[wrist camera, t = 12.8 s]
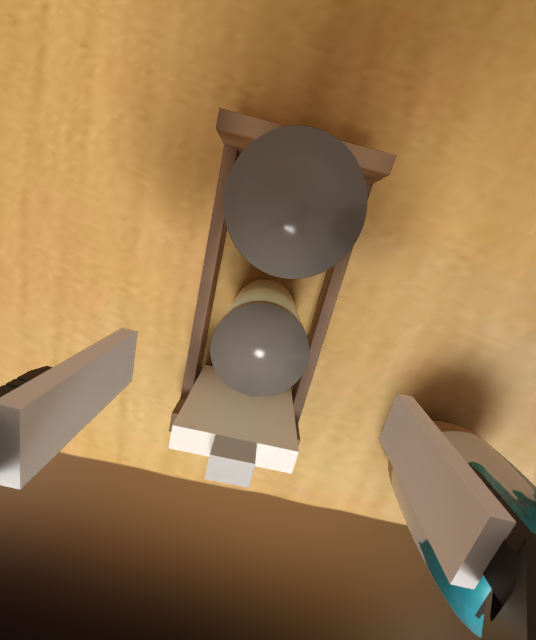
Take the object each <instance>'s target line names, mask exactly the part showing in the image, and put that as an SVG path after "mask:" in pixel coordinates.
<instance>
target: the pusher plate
mask: <svg viewBox="0 0 536 640" xmlns="http://www.w3.org/2000/svg"><path fill="white" fill-rule="evenodd" d="M169 448H171V449H175V450H180V451H185V452H190V453H195V454H199V455H204V456H209V461H208V465H207V470H206V474H205V479H207V480H212V481H217V482H222V483H227V484H232V485H237V486H242V487H246V488H249V485H250V481H251V478H252V474H253V470H254V467H255V466H257V467H262V468H267V469H271V470H276V471H281V472H286V473H290V474H292V471H293V468H294V465H295V462H296V459H297V456H298V453H299V449H298V441H297V432H296V424H295V416H294V407H293V399H292V390H291V387H290V388H289V389H287V390H285V391H283V392H281V393H279V394H276V395H272V396H266V397H255V396H249V395H245V394H242V393H240V392H237V391H235V390H234V389H232V388H230V387H229V386H228V385H226V384H225V383H224V382H223V381H222V380H221V378H220V377H219V376H218V374H217V373H216V371H215V369H214V367H213V366H209V365H204V367H203V369H202V371H201V373H200V374H199V376H198V378H197V380H196V382H195V384H194V386H193V388H192V390H191V391H190V393H189V395H188V397H187V399H186V401H185V403H184V405H183V406H182V408H181V410H180V412H179V414H178V416H177V418H176V420H175V421H174V423H173V426H172V431H171V437H170V443H169Z"/></svg>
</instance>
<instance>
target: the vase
mask: <svg viewBox="0 0 536 640" xmlns="http://www.w3.org/2000/svg"><path fill="white" fill-rule="evenodd" d="M433 422H434V423H435V425H436V426H437V427H438V428H439V429H440V431H441V432H442V433H443V434H444V435H445V437H446V438H447V439H448V440H449V441H450V443H451V444H452V445H453V446H454V448H455V449H456V450H457V451H458V452H459V454H460V455H461V456H462V457H463V458H464V460H465V461H466V462H467V463H469V464H471V465H472V466H473V467H474V468H475V469H477V470H478V471H479V472H480V473H481V474H483V476H484V477H485V478H486V479H487V480H488V481H489V483H490V484H491V485H492V486H493V488H494V489H495V490H496V491H497V492H498V493H499V494H500V495H501V498H502V499H504V500H505V501H506V503H507V504H508V505H509V506H510V507H511V508H512V510H513V511H514V512H515V513H516V514H517V515H518V517H519V518H520V519H521V520H522V521H523V522H524V524H525V525H526V526H527V527H528V528H529V530H530V531H531V532H532V533H535V534H536V487H535V486H534V485H533V484H532V483H531V482H530V481H529V480H528V479H527V478H526V477H525V476H524V475H523V474H522V473H521V472H520V471H519V470H518V469H517V468H516V467H515V466H513V465H512V464H511V463H510V462H509V461H508V460H507V459H506V458H504V457H503V456H502V455H501V454H500V453H499V452H497V451H496V450H495V449H494V448H493V447H491V446H490V445H489V444H488V443H486V442H485V441H484V440H483V439H481V438H480V437H479V436H477V435H476V434H474V433H473V432H471V431H469V430H468V429H466V428H464V427H461V426H459V425H456V424H453V423H449V422H444V421H433ZM388 470H389V476H390V481H391V484H392V488H393V490H394V493H395V496H396V499H397V501H398V504H399V506H400V509H401V511H402V514H403V516H404V518H405V521H406V523H407V525H408V527H409V530H410V532H411V534H412V536H413V538H414V541H415V543H416V545H417V547H418V549H419V551H420V553H421V555H422V557H423V559H424V561H425V563H426V565H427V567H428V569H429V571H430V572H431V574H432V576H433V578H434V580H435V582H436V583H437V585H438V587H439V588H440V590H441V592H442V594H443V595H444V597H445V598H446V600H447V601H448V603H449V605H450V606H451V608H452V609H453V611H454V612H455V613H456V615H457V616H458V617H459V619H460V620H461V621H462V622H463V623H464V624H465V625H466V626H467V627H468V628H469V629H470V630H471V631H472V632H473V633H474V634H476V635H477V636H479V637H480V638H481V636H482V628H483V620H484V615H482V616H481V617H480V619H479V618H477V617H476V616H475V614H476V613H477V611H478V609H479V608H480V606H481V605H482V603H483V602H484V600H485V599H486V597H487V596H488V594H489V592H490V591H491V587H490V585H489V584H488V582H487V580H486V579H485V577H484V575H483V576H482V578H481V580H480V581H479V583H478V584H477V586H476V587H475V589H469V588H465V587H460V586H455V585H451V584H450V583H449V581H448V579H447V577H446V575H445V573H444V571H443V569H442V567H441V565H440V563H439V561H438V559H437V557H436V555H435V552H434V550H433V548H432V546H431V544H430V542H429V540H428V538H427V536H426V534H425V532H424V530H423V528H422V526H421V524H420V522H419V520H418V518H417V516H416V514H415V512H414V510H413V508H412V505H411V503H410V501H409V499H408V497H407V495H406V493H405V491H404V489H403V487H402V485H401V483H400V481H399V479H398V477H397V475H396V473H395V471H394V469H393V467H392V465H391V463H390V460H388Z"/></svg>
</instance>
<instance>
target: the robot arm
mask: <svg viewBox="0 0 536 640" xmlns="http://www.w3.org/2000/svg"><path fill="white" fill-rule="evenodd" d="M137 333H138V331H134V330H130V329H125V328H121V329H119V330H117V331H116V332H114V333H112V334H110V335H109V336H107V337H105V338H103V339H102V340H100V341H98V342H96V343H95V344H93V345H91V346H89V347H88V348H86V349H84V350H82V351H81V352H79V353H77V354H75V355H74V356H72V357H70V358H68V359H67V360H65V361H63V362H61V363H60V364H58V365H56V366H54V367H49V366H45V367H41V368H38V369H34V370H31V371H29V372H27V373H25V374H23V375H21V376H19V377H18V378H17V379H14V380H12V381H10V382H8V383H6V385H3V386H1V387H0V485H2V486H7V487H11V488H16V489H21V488H22V487H23V486H24V485H25V484H26V483H27V482H28V481H29V480H30V479H31V478H32V477H33V476H35V475H36V474H37V473H38V472H39V471H40V470H41V469H42V468H43V467H44V466H45V465H46V464H47V463H48V462H49V461H50V460H51V459H52V458H53V457H54V456H55V455H56V454H57V453H58V452H59V451H60V450H61V449H62V448H63V447H64V446H65V445H66V444H68V443H69V442H70V441H71V440H72V439H73V438H74V437H75V436H76V435H77V434H78V433H79V432H80V431H81V430H82V429H83V428H84V427H85V426H86V425H87V424H88V423H89V422H90V421H91V420H92V419H93V418H94V417H95V416H96V415H97V414H98V413H99V412H101V411H102V410H103V409H104V408H105V407H106V406H107V405H108V404H109V403H110V402H111V401H112V400H113V399H114V398H115V397H116V396H117V395H118V394H119V393H120V392H121V391H122V390H123V389H124V388H125V387H126V386H127V385H128V384H129V383H130V382H131V381H132V376H133V367H134V359H135V350H136V342H137ZM379 440H380V442H381V444H382V446H383V448H384V450H385V452H386V454H387V456H388V458H389V460H390V463H391V465H392V467H393V469H394V471H395V473H396V475H397V477H398V479H399V481H400V483H401V485H402V487H403V489H404V491H405V493H406V495H407V497H408V499H409V501H410V503H411V505H412V508H413V510H414V512H415V514H416V516H417V518H418V520H419V522H420V524H421V526H422V528H423V530H424V532H425V534H426V536H427V538H428V540H429V542H430V544H431V546H432V548H433V550H434V552H435V555H436V557H437V559H438V561H439V563H440V565H441V567H442V569H443V571H444V573H445V575H446V577H447V579H448V581H449V583H450V584H451V585H455V586H460V587H465V588H469V589H475V587H476V586H477V584H478V583H479V581H480V580H481V578H482V576H483V575H484V577H485V579H486V580H487V582H488V584H489V585H490V587H491V591H490V592H489V594H488V596H487V597H486V599H485V600H484V602H483V603H482V605H481V606H480V608H479V609H478V611H477V613H476V614H475V616H476V617H477V618H479V619H480V617H481V616H482V615H484V620H483V628H482V636H481V640H536V534H535V533H532V532H531V531H530V530H529V528H528V527H527V526H526V525H525V524H524V522H523V521H522V520H521V519H520V518H519V517H518V515H517V514H516V513H515V512H514V511H513V510H512V508H511V507H510V506H509V505H508V504H507V503H506V501H505V500H504V499H502V498H501V495H500V494H499V493H498V492H497V491H496V490H495V489H494V488H493V486H492V485H491V484H490V483H489V481H488V480H487V479H486V478H485V477H484V476H483V474H481V473H480V472H479V471H478V470H477V469H475V468H474V467H473V466H472V465H471V464H469V463H467V462H466V461H465V460H464V458H463V457H462V456H461V455H460V454H459V452H458V451H457V450H456V449H455V448H454V446H453V445H452V444H451V443H450V441H449V440H448V439H447V438H446V437H445V435H444V434H443V433H442V432H441V431H440V429H439V428H438V427H437V426H436V425H435V423H434V422H433V421H432V420H431V419H430V417H429V416H428V415H427V414H426V412H425V411H424V410H423V409H422V408H421V406H420V405H419V404H418V403H417V402H416V400H415V399H414V398H413V397H412V396H408V395H404V394H400V393H397V395H396V398H395V400H394V403H393V405H392V408H391V410H390V412H389V415H388V417H387V420H386V422H385V425H384V427H383V429H382V432H381V434H380V437H379Z"/></svg>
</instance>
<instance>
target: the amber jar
mask: <svg viewBox="0 0 536 640" xmlns="http://www.w3.org/2000/svg"><path fill="white" fill-rule="evenodd" d="M366 210H367V190H366V183H365V179H364V175H363V173H362V170H361V168H360V165H359V164H358V162H357V160H356V158H355V156H354V155H353V154H352V153H351V151H350V150H349V149H348V148H347V147H346V146H345V145H344V144H343V143H342V142H341V141H340V140H339V139H337V138H336V137H335V136H333V135H331V134H329V133H328V132H326V131H324V130H321V129H318V128H315V127H310V126H305V125H292V126H284V127H280V128H276V129H273V130H271V131H269V132H267V133H265V134H263V135H261V136H260V137H258V138H256V139H255V140H254V141H253V142H252V143H250V144H249V145H248V146H247V147H246V148H245V149H244V150H243V152H242V153H241V154H240V155H239V157H238V158H237V160H236V161H235V163H234V165H233V167H232V169H231V171H230V173H229V176H228V179H227V182H226V186H225V191H224V217H225V222H226V226H227V229H228V232H229V235H230V237H231V239H232V241H233V243H234V245H235V246H236V248H237V249H238V251H239V252H240V253H241V254H242V256H243V257H244V258H245V259H246V260H247V261H248V262H250V263H251V264H252V265H253V266H255V267H256V268H258V269H259V270H261V271H263V272H265V273H267V274H269V275H273V276H276V277H280V278H286V279H300V278H307V277H311V276H314V275H317V274H320V273H322V272H324V271H326V270H328V269H330V268H331V267H333V266H334V265H336V264H337V263H338V262H339V261H340V260H341V259H343V258H344V257H345V256H346V254H347V253H348V252H349V251H350V250H351V248H352V247H353V245H354V244H355V242H356V241H357V239H358V237H359V235H360V233H361V230H362V227H363V225H364V221H365V217H366Z"/></svg>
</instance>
